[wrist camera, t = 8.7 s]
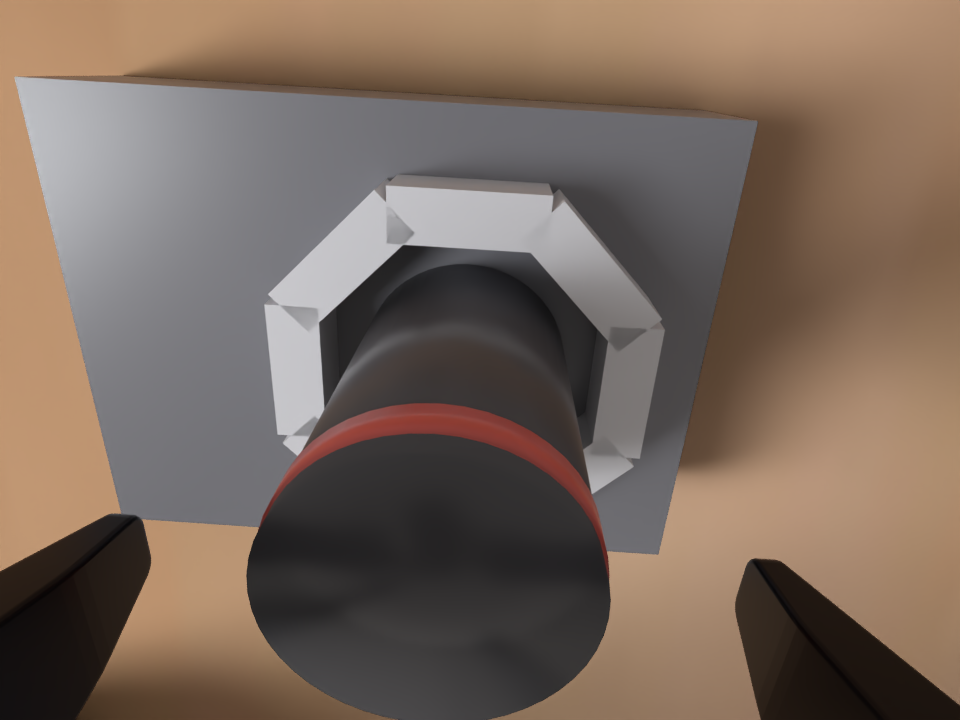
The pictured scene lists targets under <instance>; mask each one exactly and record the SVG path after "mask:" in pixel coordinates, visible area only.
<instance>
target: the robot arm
mask: <svg viewBox="0 0 960 720" xmlns="http://www.w3.org/2000/svg"><path fill="white" fill-rule="evenodd" d="M150 566H151V554H150V550H149V546H148V541H147V537H146V533H145V529H144V524H143V521H142V520H141V518H140V517H139V516H136V515H130V514H109V515H106V516H104V517H102V518H100V519H98V520H97V521H95V522H93V523H91V524H89V525H87V526H85V527H83V528H81V529H80V530H78V531H76V532H74V533H72V534H70V535H68V536H66V537H64V538H63V539H61V540H59V541H57V542H55V543H53V544H51V545H49V546H47V547H46V548H44V549H42V550H40V551H38V552H36V553H34V554H32V555H30V556H28V557H27V558H25V559H23V560H21V561H19V562H17V563H15V564H13V565H11V566H10V567H8V568H6V569H4V570H2V571H0V720H76V718H77V716H78V715H79V713H80V711H81V710H82V708H83V706H84V704H85V703H86V701H87V699H88V697H89V696H90V694H91V692H92V691H93V689H94V687H95V685H96V683H97V682H98V680H99V678H100V676H101V674H102V673H103V671H104V669H105V667H106V665H107V663H108V661H109V659H110V657H111V655H112V652H113V650H114V648H115V646H116V644H117V641H118V639H119V637H120V635H121V633H122V630H123V628H124V626H125V624H126V622H127V620H128V617H129V615H130V613H131V611H132V609H133V606H134V604H135V602H136V600H137V598H138V596H139V593H140V591H141V589H142V587H143V585H144V582H145V580H146V578H147V576H148V573H149V570H150ZM735 612H736V618H737V622H738V626H739V631H740V635H741V639H742V643H743V648H744V652H745V656H746V660H747V665H748V669H749V673H750V677H751V682H752V686H753V690H754V694H755V699H756V703H757V707H758V711H759V714H760V718H761V720H960V705H959V704H957V703H956V702H955V701H954V700H952V699H951V698H950V697H949V696H948V695H946V694H945V693H944V692H943V691H941V690H940V689H939V688H938V687H936V686H935V685H934V684H933V683H931V682H930V681H929V680H928V679H926V678H925V677H924V676H923V675H921V674H920V673H919V672H918V671H917V670H915V669H914V668H913V667H912V666H910V665H909V664H908V663H907V662H905V661H904V660H903V659H902V658H900V657H899V656H898V655H897V654H895V653H894V652H893V651H892V650H890V649H889V648H888V647H887V646H886V645H884V644H883V643H882V642H881V641H879V640H878V639H877V638H876V637H874V636H873V635H872V634H871V633H869V632H868V631H867V630H866V629H864V628H863V627H862V626H861V625H860V624H858V623H857V622H856V621H855V620H853V619H852V618H851V617H850V616H848V615H847V614H846V613H845V612H843V611H842V610H841V609H840V608H838V607H837V606H836V605H835V604H833V603H832V602H831V601H830V600H829V599H827V598H826V597H825V596H824V595H822V594H821V593H820V592H819V591H817V590H816V589H815V588H814V587H812V586H811V585H810V584H809V583H807V582H806V581H805V580H804V579H803V578H801V577H800V576H799V575H798V574H796V573H795V572H794V571H793V570H791V569H790V568H789V567H788V566H786V565H785V564H784V563H782V562H781V561H778V560H771V559H757V558H755V559H751V560H750V561H749V562H748V563H747V566H746V568H745V571H744V575H743V578H742V581H741V584H740V587H739V591H738V594H737V597H736V602H735Z"/></svg>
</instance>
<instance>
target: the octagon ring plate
mask: <svg viewBox="0 0 960 720" xmlns="http://www.w3.org/2000/svg"><path fill="white" fill-rule="evenodd" d="M15 81H16V85H17V89H18V93H19V98H20V102H21V106H22V110H23V114H24V118H25V122H26V126H27V130H28V134H29V138H30V142H31V146H32V151H33V155H34V159H35V163H36V167H37V171H38V175H39V179H40V183H41V187H42V191H43V195H44V199H45V204H46V208H47V212H48V216H49V220H50V224H51V228H52V232H53V236H54V240H55V244H56V248H57V253H58V257H59V261H60V265H61V269H62V273H63V277H64V281H65V285H66V289H67V293H68V297H69V301H70V306H71V310H72V314H73V318H74V322H75V326H76V330H77V334H78V338H79V342H80V346H81V350H82V354H83V359H84V363H85V367H86V371H87V375H88V379H89V383H90V387H91V391H92V395H93V399H94V403H95V407H96V412H97V416H98V420H99V424H100V428H101V432H102V436H103V440H104V444H105V448H106V452H107V456H108V461H109V465H110V469H111V473H112V477H113V481H114V485H115V489H116V493H117V497H118V501H119V505H120V509H121V514H130V515H136V516H139V517H140V518H141V519H146V520H161V521H175V522H190V523H205V524H219V525H234V526H248V527H259V526H260V523H261V520H262V516H263V514H264V512H265V511H266V509H267V507H268V505H269V503H270V501H271V499H272V497H273V495H274V493H275V492H276V490H277V488H278V486H279V484H280V483H281V481H282V479H283V477H284V475H285V474H286V472H287V470H288V468H289V467H290V466H291V464H292V463H293V462H294V460H295V459H296V458H297V456H298V455H299V454H300V453H301V451H302V450H303V448H304V446H305V444H306V442H307V440H308V439H309V437H310V435H311V433H312V431H313V429H314V428H315V426H316V424H317V422H318V420H319V418H320V416H321V415H322V413H323V411H324V409H325V407H326V405H327V404H328V402H329V400H330V398H331V396H332V394H333V393H334V391H335V389H336V387H337V385H338V383H339V382H340V380H341V378H342V376H343V374H344V372H345V370H346V369H347V367H348V365H349V363H350V361H351V359H352V358H353V356H354V354H355V352H356V350H357V348H358V347H359V345H360V343H361V341H362V339H363V337H364V336H365V334H366V332H367V330H368V328H369V326H370V324H371V323H372V321H373V319H374V317H375V315H376V313H377V312H378V310H379V308H380V307H381V305H382V304H383V302H384V301H385V300H386V298H387V297H388V296H389V295H390V294H391V293H392V292H393V291H394V290H395V289H396V288H397V287H398V286H400V285H401V284H402V283H404V282H405V281H406V280H408V279H410V278H412V277H413V276H415V275H417V274H419V273H422V272H424V271H427V270H429V269H433V268H437V267H440V266H447V265H454V264H470V265H478V266H484V267H488V268H492V269H496V270H498V271H501V272H504V273H506V274H509V275H510V276H512V277H514V278H516V279H518V280H519V281H521V282H522V283H524V284H525V285H526V286H528V287H529V288H530V289H532V290H533V291H534V292H535V293H536V294H537V295H538V296H539V297H540V298H541V300H542V301H543V302H544V303H545V305H546V306H547V307H548V309H549V310H550V312H551V314H552V316H553V317H554V319H555V321H556V324H557V326H558V329H559V332H560V336H561V340H562V345H563V350H564V355H565V360H566V365H567V370H568V375H569V380H570V385H571V391H572V396H573V401H574V406H575V411H576V416H577V421H578V426H579V431H580V436H581V441H582V447H583V452H584V457H585V462H586V467H587V472H588V477H589V482H590V487H591V492H592V497H593V499H594V502H595V504H596V506H597V510H598V514H599V518H600V522H601V526H602V531H603V536H604V541H605V545H606V550H607V551H613V552H628V553H642V554H657V555H658V554H659V549H660V545H661V541H662V536H663V532H664V528H665V523H666V519H667V515H668V510H669V506H670V502H671V497H672V493H673V489H674V484H675V480H676V476H677V471H678V467H679V463H680V458H681V454H682V450H683V445H684V441H685V437H686V432H687V428H688V424H689V419H690V415H691V411H692V406H693V402H694V398H695V393H696V389H697V385H698V380H699V376H700V371H701V367H702V363H703V358H704V354H705V350H706V345H707V341H708V337H709V332H710V328H711V324H712V319H713V315H714V311H715V306H716V302H717V298H718V293H719V289H720V285H721V280H722V276H723V272H724V267H725V263H726V259H727V254H728V250H729V246H730V241H731V237H732V233H733V228H734V224H735V220H736V215H737V211H738V207H739V202H740V198H741V194H742V189H743V185H744V181H745V176H746V172H747V168H748V163H749V159H750V155H751V150H752V146H753V142H754V137H755V133H756V129H757V124H758V121H755V120H750V119H745V118H740V117H735V116H729V115H724V114H719V113H714V112H709V111H704V110H689V109H672V108H655V107H639V106H622V105H605V104H588V103H572V102H555V101H538V100H521V99H504V98H488V97H471V96H454V95H437V94H421V93H404V92H387V91H370V90H354V89H337V88H320V87H303V86H286V85H270V84H253V83H236V82H219V81H203V80H186V79H169V78H152V77H135V76H34V77H15Z"/></svg>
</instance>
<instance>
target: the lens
mask: <svg viewBox="0 0 960 720" xmlns="http://www.w3.org/2000/svg"><path fill="white" fill-rule="evenodd" d="M246 576H247V592H248V597H249V601H250V605H251V609H252V612H253V615H254V617H255V619H256V622H257V624H258V627H259V628H260V630H261V632H262V633H263V635H264V637H265V639H266V640H267V642H268V643H269V645H270V646H271V647H272V648H273V650H274V651H275V652H276V653H277V655H278V656H279V657H280V658H281V659H282V660H283V661H284V662H285V663H286V664H287V665H288V666H289V667H290V668H291V669H292V670H293V671H294V672H295V673H297V674H298V675H299V676H300V677H302V678H303V679H304V680H306V681H307V682H308V683H309V684H311V685H313V686H314V687H316V688H317V689H319V690H321V691H322V692H324V693H325V694H327V695H329V696H331V697H333V698H335V699H337V700H339V701H341V702H343V703H345V704H348V705H350V706H353V707H355V708H358V709H360V710H363V711H366V712H370V713H373V714H376V715H380V716H383V717H388V718H393V719H398V720H488V719H492V718H497V717H501V716H505V715H508V714H511V713H514V712H517V711H520V710H523V709H526V708H528V707H530V706H532V705H534V704H536V703H538V702H540V701H543V700H544V699H546V698H548V697H549V696H551V695H552V694H554V693H556V692H557V691H559V690H560V689H561V688H563V687H564V686H565V685H566V684H568V683H569V682H570V681H571V680H573V679H574V678H575V677H576V676H577V675H578V674H579V673H580V671H581V670H582V669H583V668H584V667H585V666H586V665H587V664H588V662H589V661H590V659H591V658H592V656H593V655H594V654H595V652H596V651H597V649H598V646H599V644H600V642H601V640H602V638H603V636H604V633H605V630H606V626H607V623H608V619H609V611H610V602H611V600H610V587H609V564H608V555H607V550H606V545H605V541H604V536H603V531H602V526H601V522H600V518H599V514H598V510H597V506H596V504H595V502H594V499H593V497H592V492H591V487H590V482H589V477H588V472H587V467H586V462H585V457H584V452H583V447H582V441H581V436H580V431H579V426H578V421H577V416H576V411H575V406H574V401H573V396H572V391H571V385H570V380H569V375H568V370H567V365H566V360H565V355H564V350H563V345H562V340H561V336H560V332H559V329H558V326H557V324H556V321H555V319H554V317H553V316H552V314H551V312H550V310H549V309H548V307H547V306H546V305H545V303H544V302H543V301H542V300H541V298H540V297H539V296H538V295H537V294H536V293H535V292H534V291H533V290H532V289H530V288H529V287H528V286H526V285H525V284H524V283H522V282H521V281H519V280H518V279H516V278H514V277H512V276H510V275H509V274H506V273H504V272H501V271H498V270H496V269H492V268H488V267H484V266H478V265H470V264H454V265H447V266H440V267H437V268H433V269H429V270H427V271H424V272H422V273H419V274H417V275H415V276H413V277H412V278H410V279H408V280H406V281H405V282H404V283H402V284H401V285H400V286H398V287H397V288H396V289H395V290H394V291H393V292H392V293H391V294H390V295H389V296H388V297H387V298H386V300H385V301H384V302H383V304H382V305H381V307H380V308H379V310H378V312H377V313H376V315H375V317H374V319H373V321H372V323H371V324H370V326H369V328H368V330H367V332H366V334H365V336H364V337H363V339H362V341H361V343H360V345H359V347H358V348H357V350H356V352H355V354H354V356H353V358H352V359H351V361H350V363H349V365H348V367H347V369H346V370H345V372H344V374H343V376H342V378H341V380H340V382H339V383H338V385H337V387H336V389H335V391H334V393H333V394H332V396H331V398H330V400H329V402H328V404H327V405H326V407H325V409H324V411H323V413H322V415H321V416H320V418H319V420H318V422H317V424H316V426H315V428H314V429H313V431H312V433H311V435H310V437H309V439H308V440H307V442H306V444H305V446H304V448H303V450H302V451H301V453H300V454H299V455H298V456H297V458H296V459H295V460H294V462H293V463H292V464H291V466H290V467H289V468H288V470H287V472H286V474H285V475H284V477H283V479H282V481H281V483H280V484H279V486H278V488H277V490H276V492H275V493H274V495H273V497H272V499H271V501H270V503H269V505H268V507H267V509H266V511H265V512H264V514H263V516H262V520H261V523H260V526H259V529H258V533H257V535H256V537H255V539H254V541H253V544H252V548H251V551H250V554H249V557H248V566H247V575H246Z"/></svg>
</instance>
